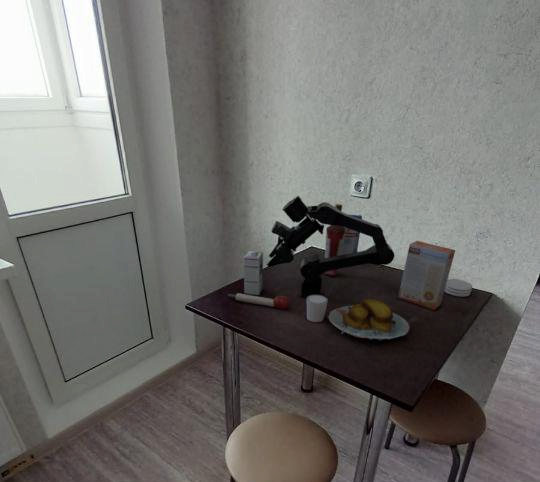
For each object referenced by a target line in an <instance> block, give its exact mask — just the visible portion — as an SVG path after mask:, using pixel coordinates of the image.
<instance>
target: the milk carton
mask: <svg viewBox="0 0 540 482" xmlns="http://www.w3.org/2000/svg"><path fill="white" fill-rule="evenodd" d="M350 215H351V216H354V217H356V218H359V219H362V220H363V216H362V215H361V214H360V215H358V214H350ZM344 228H345V227H344ZM360 237H361V233H359V232H357V231H354V230H351V229H348V228H345V235H344V241H343V246H342V251H341V255H345V254H350V253H355V252H358V248H359V241H360Z"/></svg>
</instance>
